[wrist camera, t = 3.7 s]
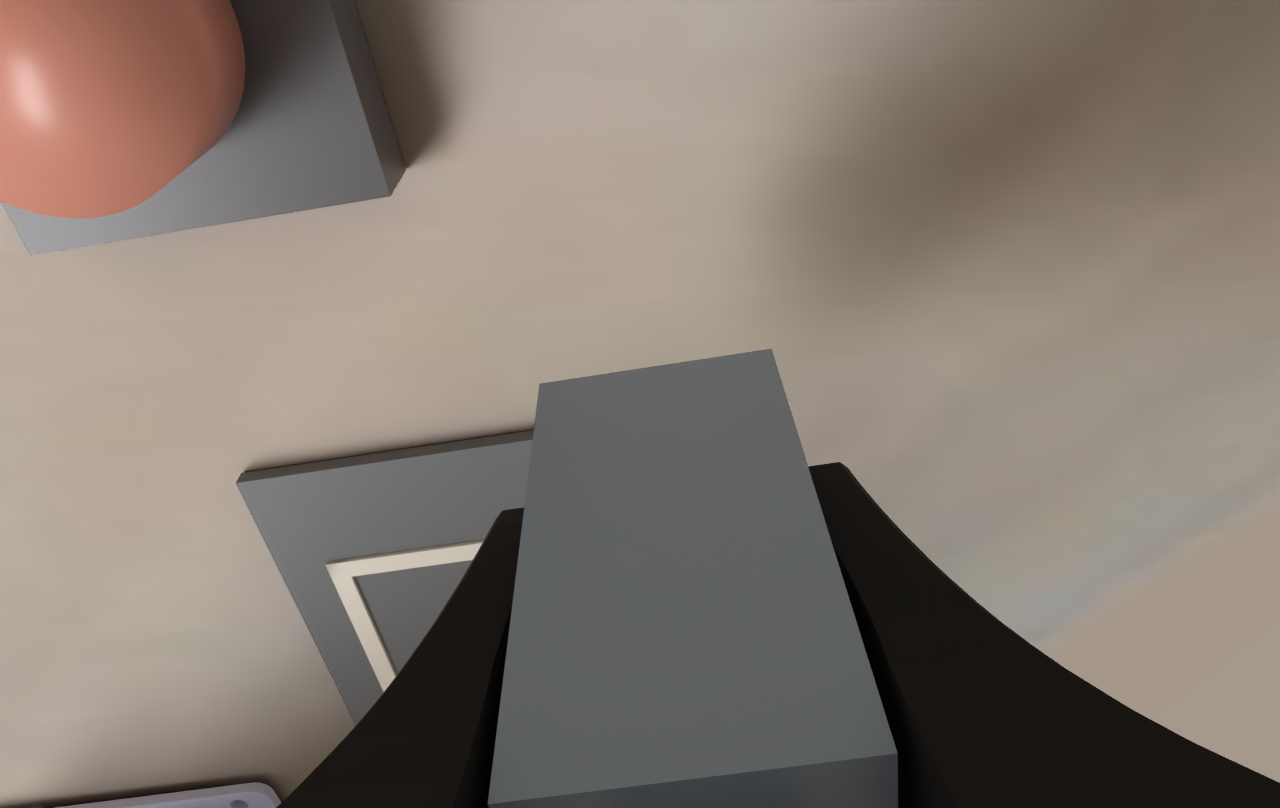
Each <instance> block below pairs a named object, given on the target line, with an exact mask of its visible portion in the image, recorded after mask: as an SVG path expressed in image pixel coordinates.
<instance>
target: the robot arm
mask: <svg viewBox="0 0 1280 808" xmlns="http://www.w3.org/2000/svg"><path fill="white" fill-rule="evenodd" d="M808 468H809V471H810V474H811V478H812V481H813V484H814V487H815V490H816V494H817V497H818V500H819V503H820V506H821V510H822V513H823V516H824V519H825V522H826V526H827V529H828V532H829V535H830V538H831V542H832V545H833V548H834V551H835V554H836V558H837V561H838V564H839V567H840V570H841V574H842V577H843V580H844V583H845V587H846V590H847V593H848V596H849V599H850V603H851V606H852V609H853V612H854V615H855V619H856V622H857V625H858V628H859V631H860V635H861V638H862V641H863V644H864V647H865V651H866V654H867V657H868V660H869V663H870V667H871V670H872V673H873V676H874V679H875V683H876V686H877V689H878V692H879V695H880V699H881V702H882V705H883V708H884V711H885V715H886V718H887V721H888V724H889V727H890V731H891V734H892V737H893V740H894V743H895V747H896V750H897V753H898V808H1280V783H1279V782H1276V781H1274V780H1272V779H1270V778H1268V777H1265V776H1264V775H1261V774H1259V773H1257V772H1255V771H1253V770H1250V769H1249V768H1246V767H1244V766H1242V765H1240V764H1238V763H1236V762H1234V761H1231V760H1229V759H1227V758H1225V757H1223V756H1221V755H1219V754H1217V753H1214V752H1212V751H1210V750H1208V749H1206V748H1204V747H1201V746H1199V745H1197V744H1195V743H1193V742H1191V741H1189V740H1187V739H1185V738H1184V737H1182V736H1180V735H1178V734H1176V733H1174V732H1172V731H1171V730H1169V729H1167V728H1165V727H1163V726H1161V725H1160V724H1158V723H1156V722H1154V721H1152V720H1150V719H1148V718H1146V717H1145V716H1143V715H1141V714H1139V713H1137V712H1135V711H1134V710H1132V709H1130V708H1128V707H1127V706H1125V705H1123V704H1122V703H1120V702H1119V701H1117V700H1115V699H1114V698H1112V697H1110V696H1109V695H1107V694H1106V693H1104V692H1102V691H1101V690H1099V689H1098V688H1096V687H1094V686H1093V685H1091V684H1090V683H1088V682H1086V681H1084V680H1083V679H1081V678H1080V677H1078V676H1077V675H1075V674H1073V673H1072V672H1070V671H1068V670H1067V669H1065V668H1064V667H1062V666H1061V665H1060V664H1058V663H1057V662H1055V661H1054V660H1052V659H1051V658H1050V657H1048V656H1047V655H1045V654H1044V653H1042V652H1041V651H1040V650H1038V649H1037V648H1035V647H1034V646H1032V645H1031V644H1030V643H1028V642H1027V641H1026V640H1024V639H1023V638H1022V637H1020V636H1019V635H1018V634H1016V633H1015V632H1014V631H1012V630H1011V629H1010V628H1008V627H1007V626H1006V625H1004V624H1003V623H1002V622H1001V621H999V620H998V619H997V618H996V617H994V616H993V615H992V614H991V613H989V612H988V611H987V610H986V609H985V608H983V607H982V606H981V605H980V604H979V603H977V602H976V601H975V600H974V599H973V598H972V597H970V596H969V595H968V594H967V593H966V592H965V591H964V590H963V589H961V588H960V587H959V586H958V585H957V584H956V583H955V582H953V581H952V580H951V579H950V578H949V577H948V576H947V575H946V574H945V573H944V572H943V571H941V570H940V569H939V568H938V567H937V566H936V565H935V564H934V563H933V562H932V561H931V560H930V559H929V558H928V557H927V556H926V555H925V554H924V553H923V552H922V551H921V550H920V549H919V548H918V547H917V546H916V545H915V544H914V543H913V542H912V541H911V540H910V539H909V538H908V537H907V536H906V535H905V534H904V533H903V532H902V531H901V530H900V529H899V528H898V527H897V526H896V525H895V523H894V522H893V521H892V520H891V519H890V518H889V517H888V516H887V515H886V514H885V512H884V511H883V510H882V509H881V508H880V507H879V506H878V505H877V503H876V502H875V501H874V500H873V499H872V498H871V496H870V495H869V494H868V493H867V492H866V490H865V489H864V488H863V487H862V486H861V484H860V483H859V482H858V481H857V479H856V478H855V477H854V475H853V474H852V473H851V471H850V470H849V469H848V468H847V467H846V466H844V465H843V464H842V463H840V462H837V463H830V464H823V465H816V466H809V467H808ZM523 514H524V507H523V508H516V509H509V510H502V511H501V513H500V514H499V515H498V516H497V518H496V519H495V521H494V523H493V525H492V527H491V528H490V530H489V532H488V534H487V536H486V538H485V539H484V541H483V543H482V545H481V547H480V548H479V550H478V552H477V554H476V555H475V557H474V559H473V561H472V562H471V564H470V566H469V567H468V569H467V571H466V572H465V574H464V576H463V578H462V579H461V581H460V583H459V584H458V586H457V587H456V589H455V591H454V592H453V594H452V595H451V597H450V598H449V600H448V602H447V603H446V605H445V606H444V608H443V610H442V611H441V613H440V614H439V616H438V618H437V619H436V621H435V622H434V624H433V625H432V627H431V628H430V630H429V631H428V632H427V634H426V635H425V637H424V638H423V639H422V641H421V642H420V644H419V645H418V647H417V648H416V649H415V651H414V652H413V654H412V655H411V656H410V658H409V659H408V661H407V662H406V664H405V665H404V666H403V668H402V669H401V671H400V672H399V673H398V675H397V676H396V677H395V678H394V680H393V681H392V682H391V684H390V685H389V686H388V687H387V689H386V690H385V691H384V693H383V694H382V695H381V696H380V698H379V699H378V700H377V701H376V703H375V704H374V705H373V706H372V707H371V709H370V710H369V711H368V712H367V713H366V714H365V716H364V717H363V718H362V719H361V720H360V722H359V723H358V724H357V725H356V726H355V727H354V729H353V730H352V731H351V732H350V733H349V734H348V735H347V736H346V737H345V739H344V740H343V741H342V742H341V743H340V744H339V745H338V746H337V747H336V748H335V749H334V750H333V751H332V752H331V753H330V754H329V756H328V757H327V758H326V759H325V760H324V761H323V762H322V763H321V764H320V765H319V766H318V767H317V768H316V769H315V770H314V771H313V772H312V773H311V774H310V775H309V776H308V777H307V778H306V779H305V780H304V781H303V782H302V783H301V784H300V785H299V786H298V787H297V788H296V789H295V790H294V791H293V792H292V793H291V794H290V795H289V796H288V797H287V798H286V799H285V800H284V801H283V802H282V803H281V801H280V800H279V798H278V796H277V795H276V793H275V791H274V790H273V789H272V788H271V787H270V786H268V785H266V784H264V783H260V782H253V783H245V784H237V785H229V786H221V787H213V788H206V789H198V790H190V791H182V792H174V793H166V794H158V795H150V796H142V797H134V798H126V799H118V800H110V801H102V802H94V803H87V804H79V805H71V806H63V807H55V808H489V806H488V797H489V789H490V781H491V773H492V765H493V757H494V749H495V741H496V733H497V725H498V717H499V708H500V700H501V692H502V684H503V676H504V668H505V660H506V652H507V644H508V636H509V628H510V620H511V611H512V603H513V595H514V587H515V579H516V571H517V563H518V555H519V547H520V539H521V531H522V522H523Z"/></svg>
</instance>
